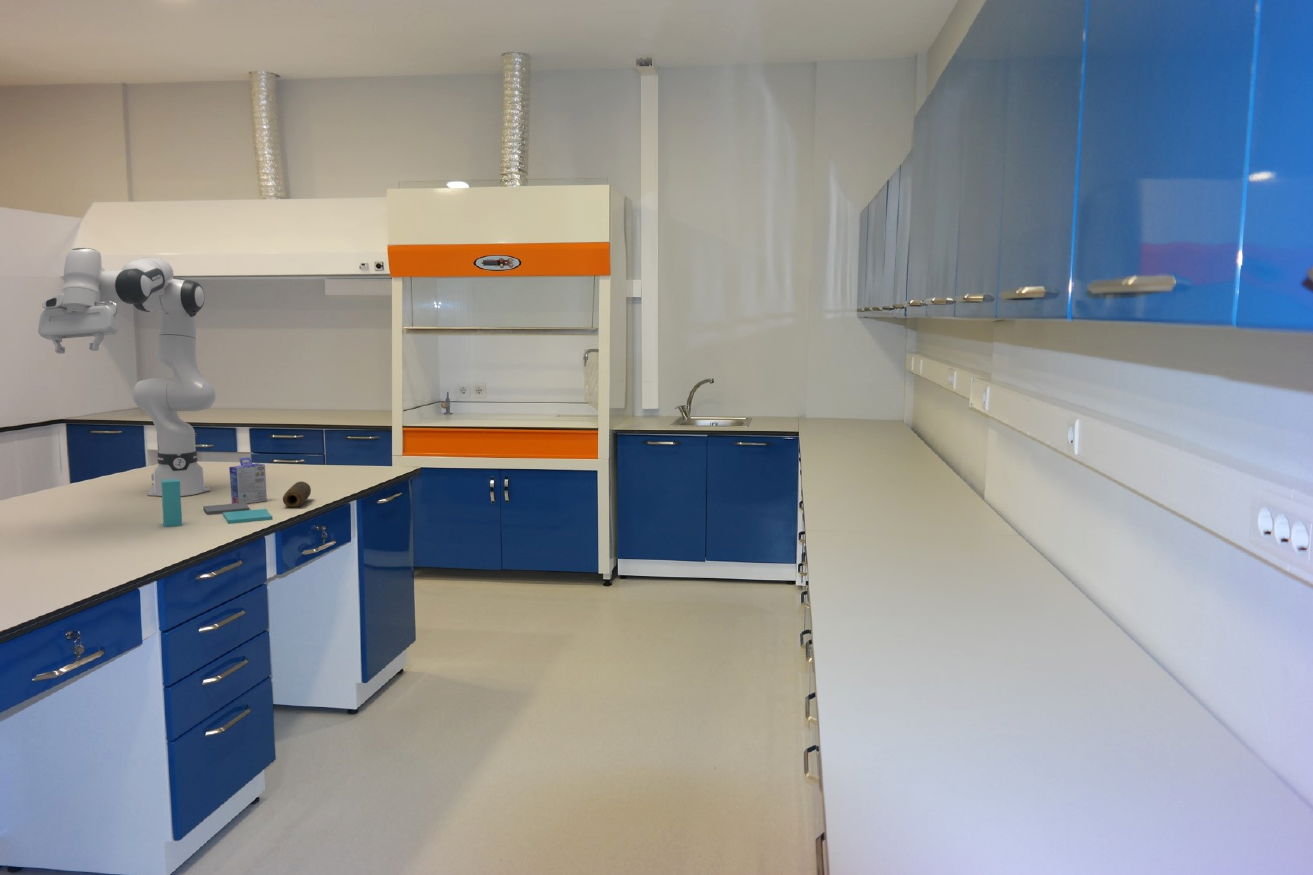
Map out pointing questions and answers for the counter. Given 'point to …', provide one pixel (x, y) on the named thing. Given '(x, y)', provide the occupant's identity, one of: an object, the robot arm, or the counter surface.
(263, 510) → the teal pad
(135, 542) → the counter surface
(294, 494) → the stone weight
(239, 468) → the ink cartridge box
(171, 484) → the teal column
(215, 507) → the charcoal pad
